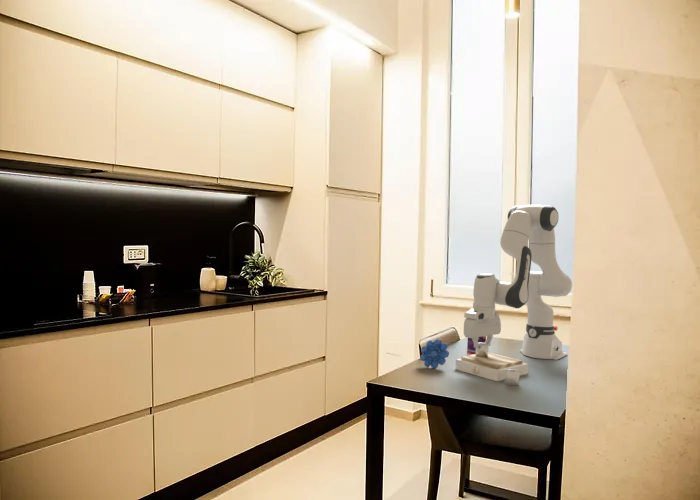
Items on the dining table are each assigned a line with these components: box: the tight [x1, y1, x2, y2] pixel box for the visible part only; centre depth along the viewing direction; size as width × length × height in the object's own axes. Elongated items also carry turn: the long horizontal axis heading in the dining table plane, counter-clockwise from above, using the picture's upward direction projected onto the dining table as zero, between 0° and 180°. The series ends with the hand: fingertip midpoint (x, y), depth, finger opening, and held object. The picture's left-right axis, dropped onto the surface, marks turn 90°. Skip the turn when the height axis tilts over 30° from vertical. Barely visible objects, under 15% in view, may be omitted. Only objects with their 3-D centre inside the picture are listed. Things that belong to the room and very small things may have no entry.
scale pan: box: [460, 351, 524, 369], centre depth 206 cm, size 17×17×1 cm
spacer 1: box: [476, 342, 489, 357], centre depth 210 cm, size 5×5×5 cm
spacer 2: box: [504, 369, 520, 387], centre depth 190 cm, size 5×5×5 cm
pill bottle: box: [466, 336, 487, 356], centre depth 232 cm, size 8×8×14 cm
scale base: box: [455, 357, 529, 382], centre depth 206 cm, size 21×20×4 cm
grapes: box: [419, 338, 450, 369], centre depth 209 cm, size 12×7×12 cm, turn 71°
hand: (482, 346), depth 210 cm, fingers open, 6 cm apart
